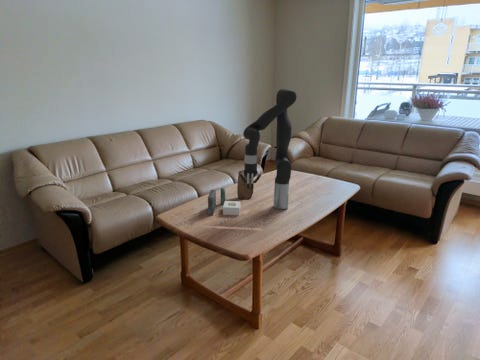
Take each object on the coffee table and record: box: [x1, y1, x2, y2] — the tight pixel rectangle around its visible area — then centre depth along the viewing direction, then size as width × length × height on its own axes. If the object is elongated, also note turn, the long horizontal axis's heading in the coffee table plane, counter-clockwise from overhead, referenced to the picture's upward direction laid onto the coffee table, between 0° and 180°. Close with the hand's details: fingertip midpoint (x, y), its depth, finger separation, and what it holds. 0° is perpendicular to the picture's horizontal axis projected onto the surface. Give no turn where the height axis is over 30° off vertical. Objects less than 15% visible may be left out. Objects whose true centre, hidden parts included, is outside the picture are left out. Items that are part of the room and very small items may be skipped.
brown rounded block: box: [236, 169, 255, 200], centre depth 238 cm, size 11×8×20 cm
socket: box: [222, 200, 242, 216], centre depth 214 cm, size 10×10×5 cm
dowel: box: [220, 187, 226, 206], centre depth 225 cm, size 3×3×12 cm
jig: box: [207, 189, 217, 216], centre depth 213 cm, size 20×13×13 cm, turn 86°
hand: (250, 188), depth 209 cm, fingers closed
